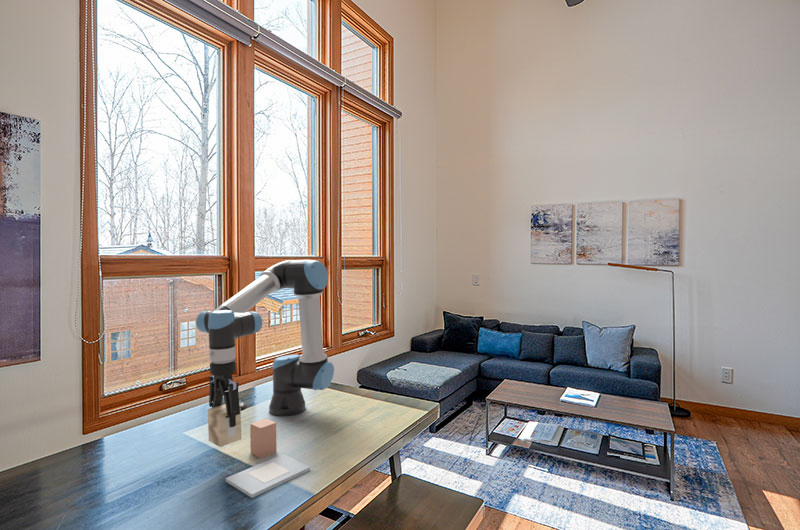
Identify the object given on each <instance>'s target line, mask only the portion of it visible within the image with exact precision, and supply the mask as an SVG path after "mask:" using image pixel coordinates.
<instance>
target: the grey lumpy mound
mask: <svg viewBox="0 0 800 530" xmlns="http://www.w3.org/2000/svg"><path fill="white" fill-rule="evenodd" d="M224 404H225V402H224V403H222V405H224ZM239 405H240V408H241V411H244V410H245V409H247V408H248V406H247V405H246V404H244V402H242V401H240V400H239Z"/></svg>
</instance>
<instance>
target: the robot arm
mask: <svg viewBox="0 0 800 530" xmlns="http://www.w3.org/2000/svg"><path fill="white" fill-rule="evenodd" d="M328 281H329V273H328V270H327V268H326V266H325V265H324V263H323V262H321V261H320V260H313V259H295V260H294V259H288V260H283V261H281V262H278V263H276V264H273V265H272V266H270V267H268V268H267V269H266V270H264V271H262V272H261V273H260V275H259V277H258V278H257V279H255V280H254V281H253V282H251V283H250V284H248V285H247V286H245V287H244V288H243V289H241V290H240V291H238V292H237V293H236V294H234V295H233V296H231V297H230V298H228V299H227V300H226V301H225V302H223V303H221V304H220V305H219V306H217V307H216V308H214V309H213V310H204V311H201V312H199V313H198V314H197V317H196V320H195V324H196V325H195V326H196V329H197V330H198V331H200V332H202V333H206V334H208V345H209V347H208V348H209V351H208V356H209V361H210V363H209V374H210V375H211V376H209V377H208V382H209V389H208V390H209V391H208V393H209V394H208V395H209V396H208V397H209V398H208V399H209V400H208V406H209V407H210V408H214V407H217V406H220V405H222V404H223V399H224V403H225V405H226V410H227V415H228V416H225V417H226V432H227V438H230V437H233V436H236V415H239V414H240V405H239V401H240V397H239V396H240V395H239V382H238V381H234V378H233V374H235V373H236V371H237V361H236V358H237V357H236V356H237V355H236V354H237V353H236V339H238V338H242V337H246V336H250V335H254V334H256V333H258V332H259V331H260V330H261V329H262V328H263V318H262V316H261V314H260V313H258V312H257V311H252V310H251V309H253V308H254V307H255V306H256V305H257V304H259V303H260V302H261V301H263V300H265V298H267V297H268V296H269V295H271V294H275V293H277V292H279V291H280V290H283V289H293V295H294V296H295V297H296V298H297V299H298V300H297V301H298V311H299V325H300V341H301V352H302V354H301V355H300V354H287V355H282V356H277V357H276V358H275V359H274V360H273V363H272V392H273V393H272V396H271V399H270V403H269V406H268V410H269V414H271V415H272V416H273V415H274V416H277V417H278V416H279V417H280V416H281V417H284V416H285V417H286V416H292V415H293V416H294V415H298V414H300V413H302V412H304V411H306V401H305V398H304V395H303V392H302V389H307V390H314V391H324V390H326V389H327V388H328V387H329V386H330V385H331V383H332V381H333V378H334V374H335V373H334V372H335V368H334V364H333V363H332V362H331V361H328V355H327V353H325V351H324V343H323V329H322V328H323V327H322V314H321V313H322V312H321V300H320V298H321V295H322V294H323V293H324V289H325V288H326V286H327V285H328V283H327V282H328ZM250 310H251V311H250Z"/></svg>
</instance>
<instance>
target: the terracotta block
mask: <svg viewBox="0 0 800 530" xmlns="http://www.w3.org/2000/svg"><path fill="white" fill-rule="evenodd" d="M249 424H250V426H249V427H250V434H249V435H250V454H252V455H253V456H255V457H258V458H259V459H263V458H265V457H268V456H271V455H272V454H275V453H277V451H278V450H277V422H275V421H273V420H270V419H268V418H263V419H261V420H258V421H255V422H252V423H249Z"/></svg>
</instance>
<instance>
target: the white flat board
mask: <svg viewBox="0 0 800 530" xmlns="http://www.w3.org/2000/svg"><path fill="white" fill-rule="evenodd" d="M309 471H311V467H310V466H309V465H306V464H305V463H303V462H300V461H299V460H296V459H294V458H292V457H290V456H288V455H286V454H283V453H282V454H279V455H277V456H275V457H273V458H270V459H268V460H265V461H263V462H260V463H259V464H256V465H253V466H251V467H249V468H247V469H244V470H242V471H240V472H237V473H234V474H232V475H230V476H228V477H225V483H227V484H229V485H230V486H232V487H233V488H235V489H237V490H238V491H240V492H242V493H243V494H245V495H246V496H248V497H250V498H251V499H253V498H255V497H257V496H259V495H261V494H263V493H265V492H268V491H270V490H272V489H275V488H276V487H279V486H280V485H282V484H284V483H286V482H287V483H288V482H289V481H290V480H293V479H294V478H297V477H299V476H301V475H304V474H305V473H307V472H309Z"/></svg>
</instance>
